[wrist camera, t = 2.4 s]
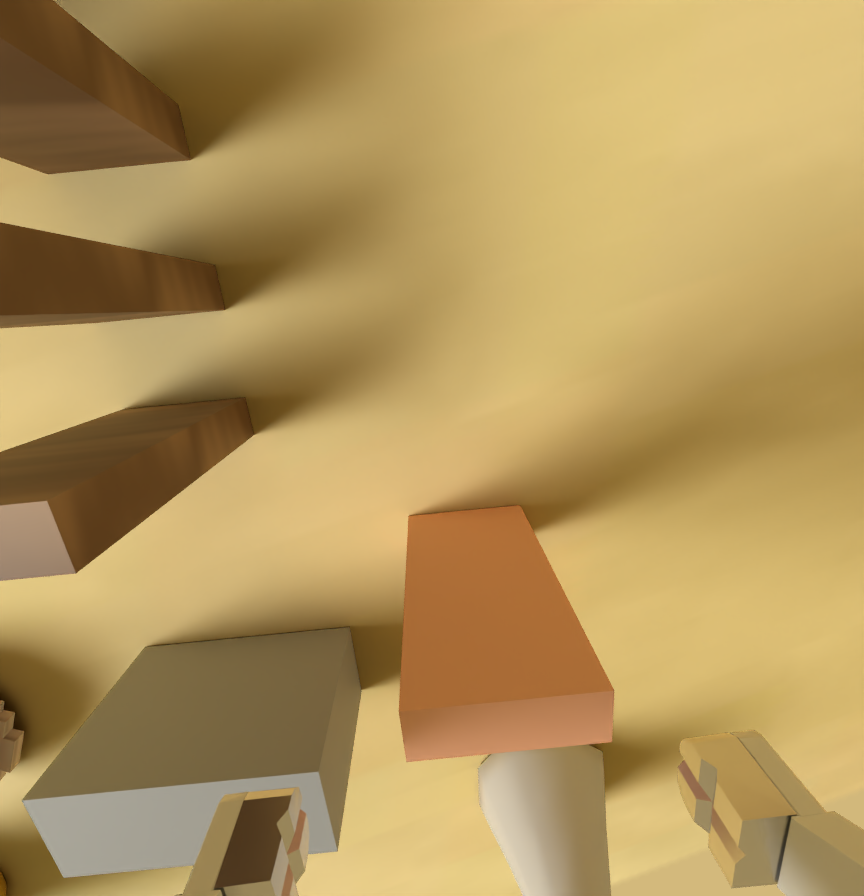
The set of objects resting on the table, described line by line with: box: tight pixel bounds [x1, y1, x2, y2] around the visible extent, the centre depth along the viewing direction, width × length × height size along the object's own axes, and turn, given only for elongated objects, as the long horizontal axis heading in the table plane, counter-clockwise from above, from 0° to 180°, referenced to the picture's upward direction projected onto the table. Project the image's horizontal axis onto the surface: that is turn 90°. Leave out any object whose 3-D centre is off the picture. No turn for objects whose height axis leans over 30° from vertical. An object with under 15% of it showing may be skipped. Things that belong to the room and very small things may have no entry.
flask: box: [478, 744, 611, 896], centre depth 20 cm, size 7×7×10 cm
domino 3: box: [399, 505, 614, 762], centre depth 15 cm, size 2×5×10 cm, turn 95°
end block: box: [22, 627, 361, 878], centre depth 19 cm, size 10×4×7 cm, turn 95°
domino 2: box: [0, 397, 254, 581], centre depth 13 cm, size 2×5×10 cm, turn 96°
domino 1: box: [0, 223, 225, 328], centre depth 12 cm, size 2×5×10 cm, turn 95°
